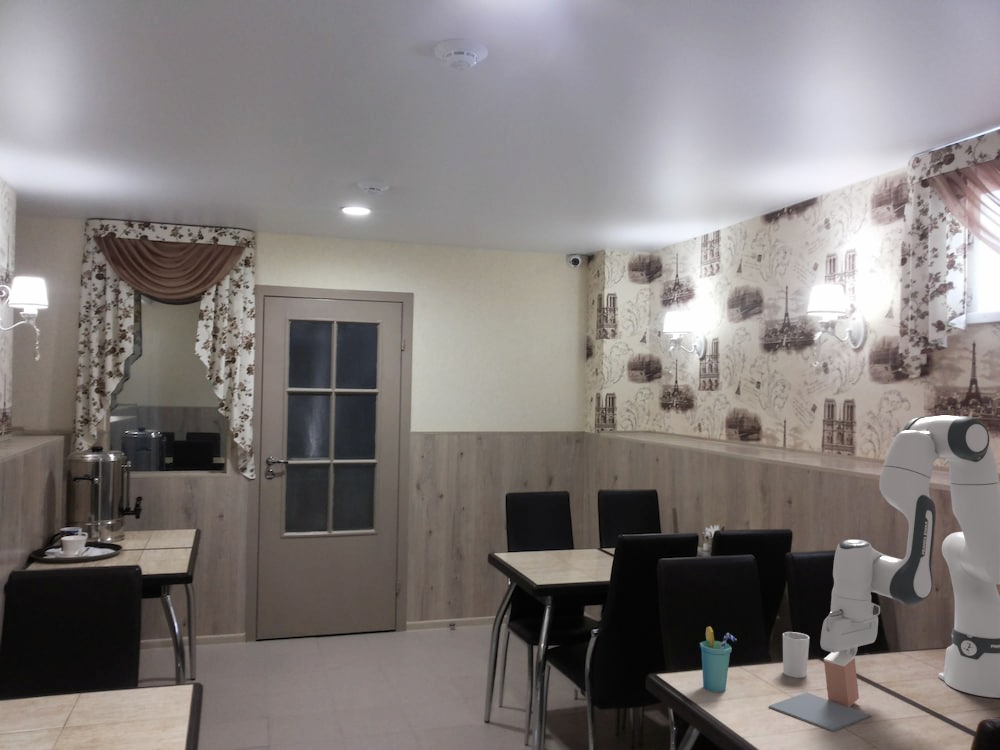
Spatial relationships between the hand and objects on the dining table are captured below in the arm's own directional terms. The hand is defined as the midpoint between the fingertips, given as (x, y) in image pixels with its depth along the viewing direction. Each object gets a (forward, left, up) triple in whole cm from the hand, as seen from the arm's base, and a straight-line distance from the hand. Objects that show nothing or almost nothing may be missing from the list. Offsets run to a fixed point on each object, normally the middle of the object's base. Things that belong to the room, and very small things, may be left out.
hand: (847, 665), depth 197 cm
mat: (+13, 0, -8) cm, 15 cm away
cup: (+22, -22, -9) cm, 32 cm away
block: (+2, 0, -8) cm, 8 cm away
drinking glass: (-6, -18, -9) cm, 21 cm away
